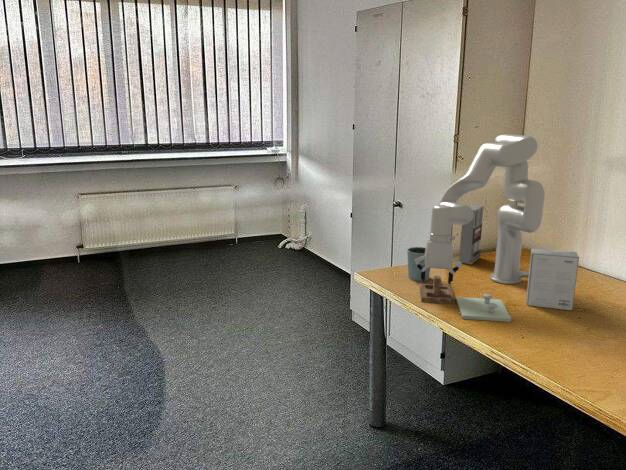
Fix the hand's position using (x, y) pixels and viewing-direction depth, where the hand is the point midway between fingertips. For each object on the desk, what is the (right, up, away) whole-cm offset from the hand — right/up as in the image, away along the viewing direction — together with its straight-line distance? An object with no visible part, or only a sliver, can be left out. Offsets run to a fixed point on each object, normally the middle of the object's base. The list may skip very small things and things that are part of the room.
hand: (436, 282), depth 208 cm
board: (+13, -9, -13) cm, 21 cm away
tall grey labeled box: (+26, +6, +47) cm, 54 cm away
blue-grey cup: (-3, 0, +22) cm, 22 cm away
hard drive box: (+40, -8, -6) cm, 41 cm away
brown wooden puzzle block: (0, -5, +2) cm, 5 cm away
